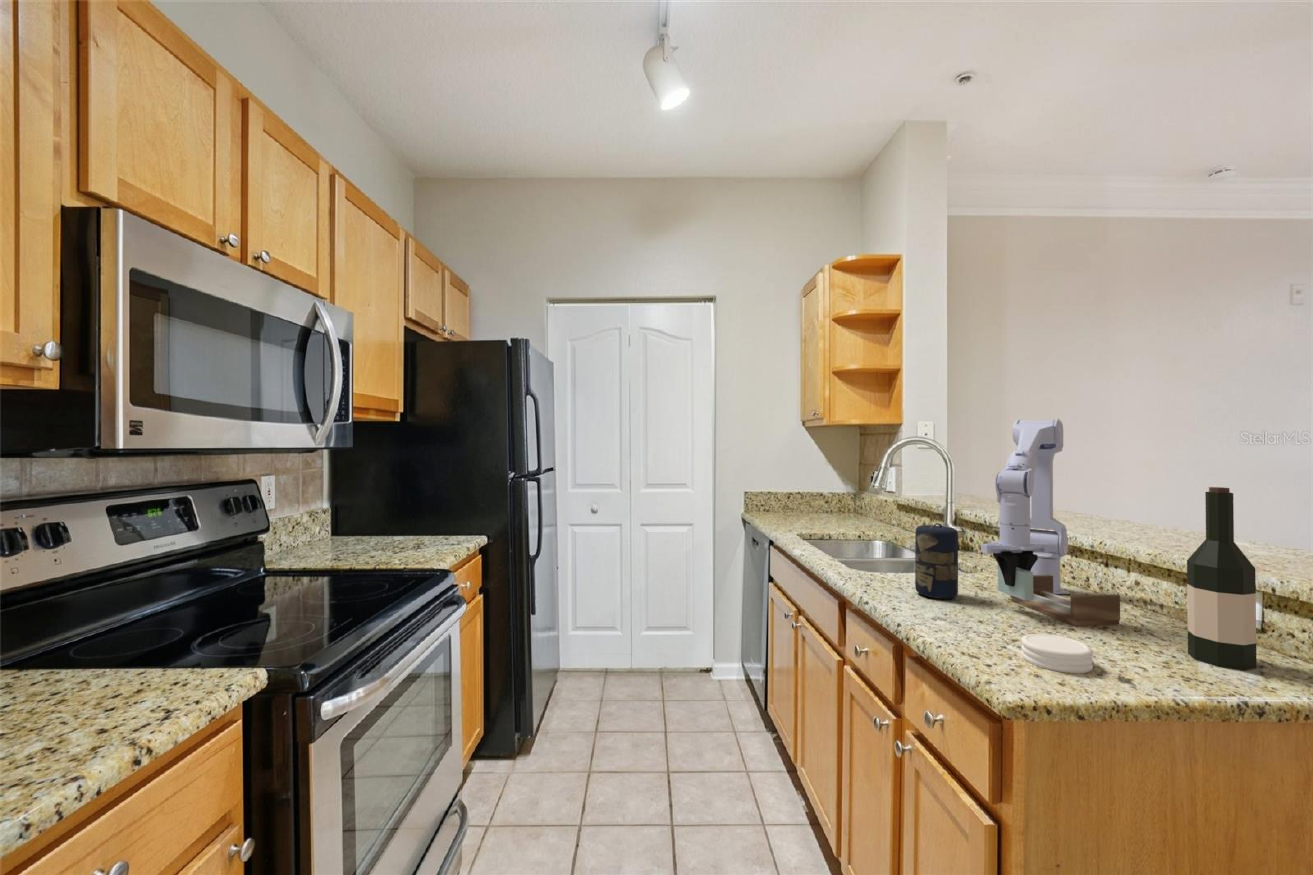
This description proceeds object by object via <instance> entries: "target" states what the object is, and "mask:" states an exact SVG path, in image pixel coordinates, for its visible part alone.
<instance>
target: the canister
mask: <svg viewBox="0 0 1313 875" xmlns="http://www.w3.org/2000/svg"><path fill="white" fill-rule="evenodd" d="M914 539H915V540H914V542H915V546H914V550H915V551H914V564H915V565H914V581H915V582H914V585H915V587H914V588H915V591H916V592H917V593H918V594H920V595H922V596H925V597H929V598H935V599H953V598H955V597H957V596H958V595H959V532H958V530H957V529H956V528H954V527H951V526H944V525H942V524H941V523H939V522H936V523H934V524H933V525H932V524H931V525H930V524H927V525H925V524H924V525H923V524H922V525H919V526H917V527H916V528H915V538H914Z"/></svg>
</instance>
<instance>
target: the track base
mask: <svg viewBox="0 0 1313 875" xmlns="http://www.w3.org/2000/svg"><path fill="white" fill-rule="evenodd" d="M1010 601H1011V602H1012V603H1015V604H1017V605H1020V606H1023V607H1025V608H1028V609H1030V610H1032V611H1036V612H1039V613H1040V614H1043V615H1046V616H1049V617H1052V618H1054V619H1056V620H1059V621H1062V622H1064V623H1066V624H1068V625H1071V626H1074V627H1081V626H1112V625H1113V626H1114V625H1118V626H1119V625H1120V621H1121V596H1120V595H1118V594H1111V593H1110V594H1108V593H1107V594H1077V595H1076V594H1075V595H1074V594H1073V595H1070V598H1067V597H1065V596H1064V597H1063V596H1061V595H1059V594H1053V576H1051V575H1033V600H1022V599H1020V598H1017V597H1014V596H1012V595H1010Z"/></svg>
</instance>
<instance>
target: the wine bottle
mask: <svg viewBox="0 0 1313 875" xmlns="http://www.w3.org/2000/svg"><path fill="white" fill-rule="evenodd" d="M1204 499H1205V539H1204V541H1203V542H1202V543H1201V544H1200V545H1199V546H1198V547H1197V548H1196V549H1195V550H1194V552H1193V553H1192V554H1191V555H1190V556H1189V557H1188V558H1187V560H1186V590H1187V591H1186V592H1187V593H1186V594H1187V595H1186V596H1187V597H1186V599H1187V600H1186V601H1187V602H1186V603H1187V606H1186V608H1187V618H1186V619H1187V654H1188V655H1189V656H1190V657H1191V658H1192V659H1194V661H1198V662H1201V663H1203V664H1208V665H1211V664H1212V666H1214V665H1215V666H1214V667H1217V668H1226V669H1230V668H1232V669H1231V670H1238V669H1239V670H1240V671H1249V670H1255V669H1257V668H1258V667H1257V665H1258V664H1257V663H1258V662H1257V661H1258V660H1257V592H1256V589H1257V588H1256V586H1257V584H1256V581H1257V580H1256V567H1255V566H1254V565H1253V563H1252V562H1251V561H1250V560H1249V559H1248V557H1247V556H1246V555H1245V554H1244V552H1243V551H1242V550H1241V549H1240V548H1239V546H1238V545H1237V544H1236V542H1235V539H1234V538H1235V533H1234V532H1235V530H1234V529H1235V528H1234V526H1235V524H1234V523H1235V522H1234V518H1235V517H1234V511H1235V510H1234V509H1235V508H1234V493H1233V492H1230V488H1229V487H1219V486H1218V487H1217V486H1216V487H1214V486H1209V487H1208V491H1205V498H1204Z"/></svg>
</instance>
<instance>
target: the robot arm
mask: <svg viewBox="0 0 1313 875" xmlns="http://www.w3.org/2000/svg"><path fill="white" fill-rule="evenodd" d="M1011 431H1012V433H1011V434H1012V439H1013V442H1014V443H1015V445H1016V446H1017V447H1016V449H1015V450H1014V451H1012V452H1011V453H1010V454H1009V456H1008V459H1007V461H1006V463H1005V465H1004V468H1003V469H1002V470H1000V472H999V471H998V472H997V473H996V476H995V482H994V483H995V491H996V492H995V493H996V501H997V503H999V505H998V506H999V541H997V542H996V541H995V542H989V543H988V542H987V543H980V546H981V549H980V551H981V553H982V554H986V555H991V554H992V557H993V558H994V559H995V561H996V563H997V566H998V565H999V567H1000V569H1001V572H1002V575H1003V578H1004V582H1005V585H1008V586H1011V587H1014V586H1015V573H1016V567H1017V568H1021V569H1024V570H1027V571H1031V572H1033V575H1051V576H1053V594H1055V595H1069V594H1070V591H1068V590H1065V589H1061V558H1062V557H1066V555H1067V554H1068V548H1069V538H1068V535H1067V534H1068V531H1067V527H1066V526H1065V525H1064V524H1063V523H1062V522H1060V521H1059V520H1057V519H1056V518H1055V517H1054V474H1053V473H1054V472H1053V470H1054V464H1053V463H1054V457H1055V454H1056V453H1060V452H1063V447H1064V425H1063V422H1062V420H1060V418H1056V419H1038V420H1037V419H1031V420H1020V419H1017V420H1015V421H1014V423H1013V425H1012V430H1011Z"/></svg>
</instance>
